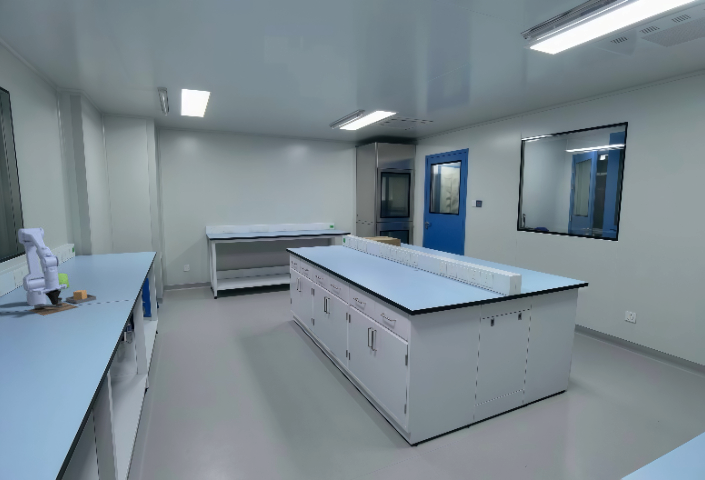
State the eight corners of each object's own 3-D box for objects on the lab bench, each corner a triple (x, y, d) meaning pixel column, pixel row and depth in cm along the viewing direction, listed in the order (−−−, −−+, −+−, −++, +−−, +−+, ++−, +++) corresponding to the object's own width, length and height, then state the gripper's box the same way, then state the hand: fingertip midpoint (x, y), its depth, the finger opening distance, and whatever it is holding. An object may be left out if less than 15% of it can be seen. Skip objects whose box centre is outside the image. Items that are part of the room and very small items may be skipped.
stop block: (74, 302, 209) (73, 292, 208) (79, 300, 214) (78, 290, 213) (82, 302, 210) (81, 292, 209) (87, 299, 214) (86, 289, 213)
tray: (66, 302, 211) (65, 297, 210) (85, 298, 219) (85, 293, 219) (76, 305, 205) (76, 300, 204) (96, 301, 213) (95, 296, 213)
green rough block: (38, 290, 241) (35, 276, 239) (54, 285, 250) (51, 272, 249) (56, 291, 235) (53, 277, 233) (72, 287, 244) (70, 273, 243)
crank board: (27, 312, 194) (27, 310, 194) (63, 304, 208) (62, 302, 208) (43, 317, 186) (43, 315, 186) (79, 308, 200) (79, 306, 200)
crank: (32, 309, 195) (31, 297, 194) (39, 307, 199) (38, 295, 198) (59, 310, 193) (58, 298, 192) (66, 308, 197) (65, 296, 196)
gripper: (45, 282, 183) (48, 308, 185) (70, 276, 197) (73, 300, 199) (32, 282, 184) (36, 308, 186) (58, 276, 198) (61, 300, 200)
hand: (54, 304), depth 192 cm, fingers closed
